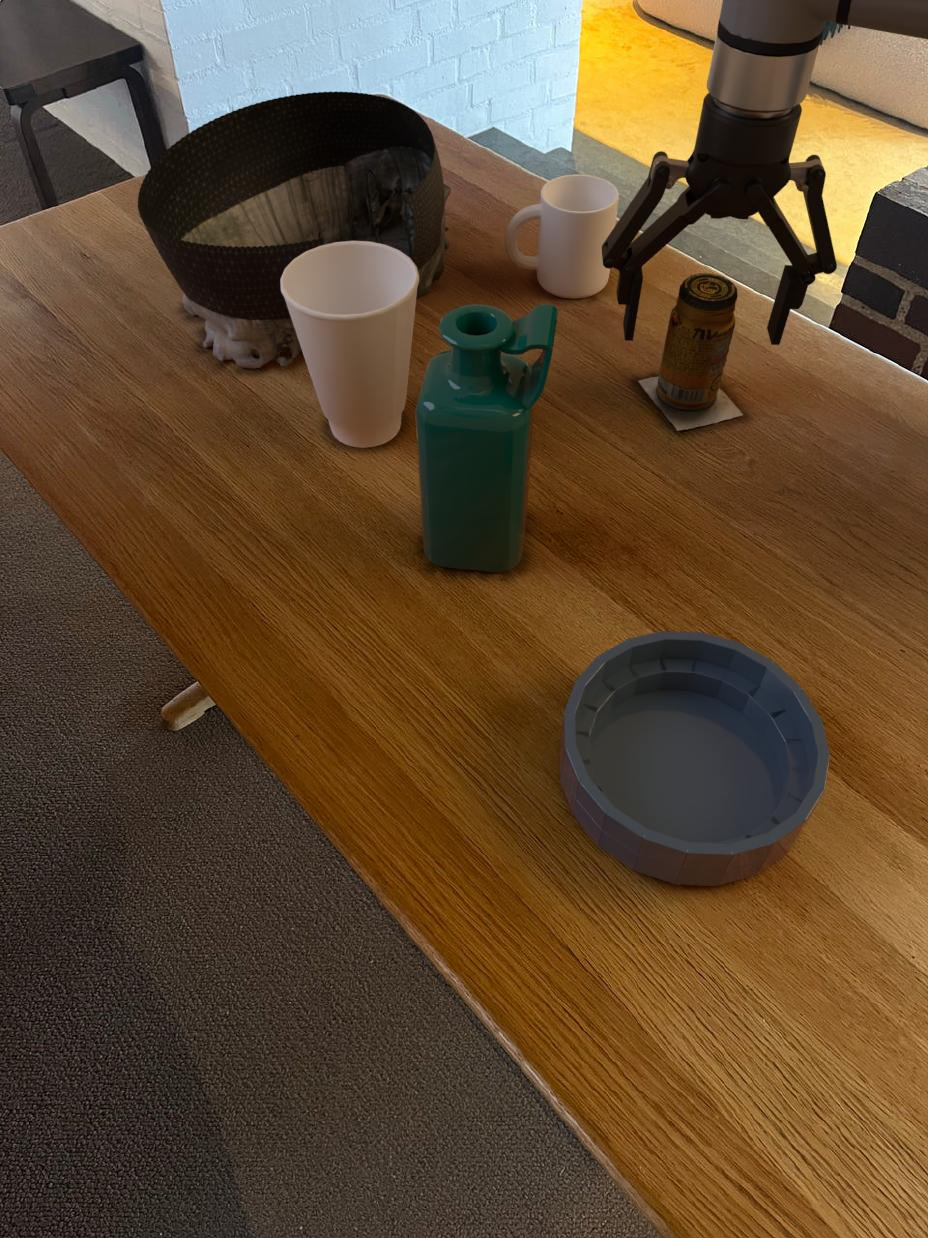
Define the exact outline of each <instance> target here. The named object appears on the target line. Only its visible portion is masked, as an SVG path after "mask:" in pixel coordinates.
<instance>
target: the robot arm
mask: <svg viewBox="0 0 928 1238" xmlns="http://www.w3.org/2000/svg"><path fill="white" fill-rule="evenodd" d="M827 22H828V23H834V24H838V25H842V26H843V25H844V26H850V27H851V26H852V27H854V28H855V27H856V28H860V29H861V28H862V29H867V30H872V31H878V32H885V33H890V34H895V35H901V36H906V37H912V38H916V39H923V40H928V0H722V2H721V9H720V15H719V19H718V24H717V31H716V35H715V40H714V46H713V50H712V55H711V61H710V65H709V70H708V74H707V79H706V90H707V91H708V93H706V94H705V96H704V98H703V100H702V108H701V112H700V116H699V123H698V127H697V133H696V138H695V143H694V148H693V150H692V153H691V154H690V156H689V157H688V159H687V160H683V159H676V158H669V156H668V154H667V152H665V151H663V150H659V151H657V152H656V153H655V154H654V155H653V156H652V159H651V164H650V167H649V170H648V171H649V172H648V175H647V178H646V179H645V181H644V182H643V183H642V185H641V186H640V188H639V189H638V191H637V193H636V194H635V196H634V197H633V199H632V200H631V202H630V203H629V205H628V206H627V207H626V209H625V210H624V212H623V214H622V215H621V216H620V217H619V219H618V221H617V222H616V224H615V227H614V228H613V230H612V231H611V233H610V234H609V236H608V237H607V239H606V240H605V242H604V243H603V245H602V260H603V265H604V267H605V268H608V269H610V270H611V269H616V270H617V271H618V277H617V282H616V283H617V286H616V290H615V291H616V300H617V303H618V305H619V306H625V307H624V316H623V320H622V321H623V322H622V326H623V335H624V342H625V341H627V342H629V341H630V342H633V341H634V335H635V330H636V324H637V319H638V312H639V306H640V299H641V294H642V287H643V281H644V274H643V273H644V272H643V267H644V266H645V265H646V264H647V263H648V262H649V261H650V260H651V259H652V258H653V257H655V256H656V255H657V254H658V253H659V252H660V251H662V249H664V248H665V247H666V246H667V245H668V244H669V243H670V242H672V240H674V239H675V238H676V237H677V236H678V235H679V234H681V232H683V231H684V230H685V229H686V228H687V227H688V226H692V225H694V224H696V223H697V222H698V221H699V220H700V219H702V217H704V216H705V215H708V216H710V219H715V220H717V219H718V220H721V219H725V218H733V219H737V220H749V217H752V216H754V215H756V214H757V213H758V214H759V216H760V218H761V219H762V221H763V222H764V224H765V225H766V227H768V229H769V231H770V232H771V234H772V235H773V237H774V238H775V240H776V241H777V243H778V245H779V246H780V248H781V250H782V251H783V253H784V255H785V256H786V258H787V259H788V261H789V262H790V264H785V265H784V266H783V269H782V274H781V277H780V281H779V285H778V288H777V292H776V294H775V299H774V301H773V304H772V308H771V312H770V315H769V319H768V322H767V326H766V330H767V334H768V337H769V342H770V345H771V346H780V344H781V342H782V338H783V334H784V332H785V329H786V325H787V322H788V319H789V315H790V311H791V310H799V309H800V308H801V307H802V306H803V303H804V301H805V297H806V293H807V291H808V288H809V286H810V285H812V284H813V283H815V281H816V275H819V274H825V275H831V274H833V273H835V271H837V268H838V264H837V259H836V254H835V251H834V250H835V249H834V245H833V241H832V236H831V231H830V226H829V221H828V217H827V212H826V207H825V202H824V198H823V193H824V187H825V182H826V178H827V177H826V176H827V171H826V170H825V168H824V165H823V162H822V160H821V157H820V156H819V155H818V154H811V155H809V156H807V158H806V159H805V161H796V162H790V156H791V153H792V150H793V146H794V142H795V139H796V135H797V131H798V127H799V124H800V120H801V116H802V112H803V108H802V105H801V104H802V103H803V102H804V100H805V99H806V98H807V96H808V95H807V94H808V90H809V87H810V83H811V79H812V75H813V71H814V68H815V63H816V59H817V55H818V52H819V47H820V44H821V41H822V38H823V37H822V36H823V33H824V28H825V26H826V23H827ZM681 179H685V181H686V183H687V185H688V187H687V188H685V189H684V191H682V192H681V193H680V194H679V196H678V198H677V200H676V201H675V202H674V203H673V204H672V205H671V206H670V207H669V208H668V209H666V210H665V211H664V212H663V213H662V214H661V215H660V216H659V217H657V219H656V220H655V221H654V222H652V223H651V224H650V225H649V226H648V227H647V228H646V229H644V231H642V233H640V231H641V230H642V229H643V227H644V225H645V223H646V222H647V221H648V219H649V218H650V216H651V215H652V214H653V212H654V211H655V209H656V208H657V207H658V205H659V204H660V202H661V200H662V199H663V197H664V195H665V192H666V190H671V189H672V188H673V187H674V186H675V184H676V183H677V181H679V180H681ZM790 181H793V182H794V184H795V187H796V190H797V191H798V192H800V193H801V192H802V194H803V198H804V199H803V200H804V203H805V207H806V212H807V216H808V220H809V225H810V230H811V233H812V238H813V243H814V247H815V251H816V252H813V253H810V254H808V252H807V251H806V249H805V248H804V246H803V244H802V242H801V240H800V239H799V237H798V236H797V234H796V232H795V231H794V230H793V229H794V228H793V227H792V226H791V225H790V223H789V221H788V219H787V218H786V216H785V215H784V212H783V211H782V209H781V207H780V206H779V204H778V202H777V201H776V198H775V197H776V196H777V194H779V193H780V192H781V191H782V190H783V189H784V188H785V187H786V186H787V185H788V184H789V182H790ZM639 233H640V234H639ZM638 234H639V235H638ZM637 235H638V237H637Z"/></svg>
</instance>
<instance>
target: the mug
mask: <svg viewBox="0 0 928 1238" xmlns="http://www.w3.org/2000/svg"><path fill="white" fill-rule="evenodd" d="M619 197H620V194H619V191H618V188H617V187H616V186H615V185H614V184H613V183H611V182H610V181H608V180H607V179H604V178H602V177H599V176H595V175H591V174H590V175H589V174H578V173H577V174H576V173H575V174H566V175H561V176H558V177H555V178H552V179H550V180H548V181H547V182H545V184H544V185H543V186H542V187H541V190H540V200H539V201H540V203H535V204H531V205H528V206H525V207H523V208H521V209H520V210H519V211H518V212H516V213H515V214H514V215H513V216H512V217H511V218H510V221H509V222H508V223H507V227H506V230H505V234H504V247H505V251H506V254H507V256H508V258H509V259H510V261H511V262H512V263H513V264H514V265H516V266H517V267H519V268H522V269H524V270H530V271H536V278H537V282H538V283H539V285H540V287H541V288H542V289H543V290H544V291H546V292H547V293H549V294H551V295H553V296H555V297H558V298H562V299H569V300H570V299H571V300H577V299H579V300H580V299H584V298H589V297H592V296H594V295H597V294H598V293H600V292H601V291H603V289H604V288H606V286H607V284H608V281H609V278H610V274H611V273H610V272H611V268H610V269H608V268H605V267H604V265H603V260H602V245H603V243H604V242H605V240H606V239H607V237H608V236H609V234H610V233H611V231H612V230H613V228H614V227H615V226H616V224H617V216H618V215H617V213H618V207H619ZM530 221H531V222H532V221H538V235H537V237H538V238H537V255H535V256H533V255H532V256H529V255H525V254H523V253H522V252H521V251H520V250H519V248H518V244H517V243H518V241H517V239H518V234H519V232H520V230H521V228H522V227H523V226H524V225H525V224H527V223H528V222H530Z"/></svg>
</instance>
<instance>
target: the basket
mask: <svg viewBox="0 0 928 1238" xmlns="http://www.w3.org/2000/svg"><path fill="white" fill-rule="evenodd" d="M440 159H441V158H440V156H439V151H438V148H437V145H436V142H435V139H434V136H433V132H432V130H431V128H430V126H429V125H428V124H427V122H426V121H425V120H424V119H423V117H422V116H421V115H420V114H419V113H418V112H416V111H415V110H413V109H412V108H411V107H409V106H407V105H406V104H404V103H401V102H398V101H397V100H394V99H391V98H387V97H385V96H380V95H376V94H372V93H365V92H357V91H356V92H355V91H354V92H353V91H318V92H314V91H313V92H307V93H300V94H299V93H298V94H291V95H286V96H280V97H278V98H276V97H275V98H272V99H267V100H263V101H261V102H256V103H254V104H249V105H247V106H244V107H241V108H238V109H236V110H232V111H230V112H226V113H225V114H223V115H220V116H219V117H215V118H214V119H212V120H209V121H208V122H207V123H203V124H202V125H201V126H198V127H197V128H195V129H193V130H192V131H191V132H189V133H186V134H185V136H182V137H181V138H180V139H179V140H177V141H176V142H175V143H174V144H172V145H171V146H170V147H169V148H167V149H166V150H165V152H163V153H162V154H161V156H159V157H158V158H157V160H156V161H154V162H153V165H152V166H150V169H149V170H148V171H147V173H146V174H145V176H144V179H143V180H142V182H141V184H140V187H139V190H138V196H137V210H138V215H139V217H140V219H141V221H142V223H143V226H144V227H145V229H146V231H147V234H148V235H149V238H150V239H151V241H152V243H153V245H154V248H156V250H157V251H158V254H159V256H160V257H161V259H162V261H163V263H164V264H165V265H166V267H167V269H168V271H169V272H170V274H171V275H172V277H173V279H174V280H175V281H176V283H177V285H178V286H179V288H180V289H181V291H182V292H183V293H182V294H183V296H182V304H183V307H184V310H185V311H186V312H187V313H189V314H190V315H191V316H192V317H195V316H196V317H197V316H198V318H201V319H203V320H205V324H204V331H205V333H206V337H205V339H204V341H203V342H202V346H203V347H204V348H205V349H207V348H210V347H212V356H213V357H215V358H217V360H218V361H221V362H224V361H226V360H229V361H230V360H233V361H235V364H236V365H237V366H239V367H240V368H243V369H245V368H246V369H260V368H262V367H263V366H264V365H266V364H267V363H269V362H271V361H275V362H276V363H278V364H279V365H280V367H289V365H290V364H292V362H293V361H294V359H295V358H296V357H297V356H299V354H300V353H301V352H302V349H301V346H300V343H299V340H298V337H297V334H296V331H295V328H294V325H293V322H292V319H291V316H290V313H289V310H288V307H287V304H286V301H285V298H284V296H283V294H282V292H281V283H280V279H281V277H282V274H283V272H284V270H285V268H286V267H287V266H288V265H289V264H290V263H291V262H292V261H293V259H295V258H297V257H298V256H300V255H301V254H303V253H304V252H306V251H309V250H311V249H314V248H316V247H319V246H322V245H326V244H331V243H335V242H345V241H367V242H374V243H379V244H384V245H387V246H390V247H392V248H395V249H397V250H400V251H401V252H402V253H404V254H405V255H407V256H408V257H410V259H411V260H412V261H413V263H414V264H415V265H416V267H417V269H418V274H419V278H420V279H419V283H418V287H417V296H416V300H418V299H421V298H424V297H426V296H427V295H429V294H430V293H431V291H432V284H433V283H434V282H436V281H440V279H441V277H442V276H443V273H444V271H445V268H446V267H445V266H446V255H445V254H446V253H445V250H447V249H449V248H450V247H451V245H450V243H449V240H448V238H447V233H446V232H448V231H449V230H450V227H446V216H447V214H446V205H447V201H448V198H449V197H450V194H451V191H452V188H451V187H450V186H448V185H447V184H445V182H444V177H443V169H442V163H441V160H440ZM288 350H289V353H290V354H291V355H290V356H289V355H280V353H281V354H284V353H285V352H286V351H288Z"/></svg>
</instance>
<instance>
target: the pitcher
mask: <svg viewBox="0 0 928 1238" xmlns="http://www.w3.org/2000/svg"><path fill="white" fill-rule="evenodd" d="M558 315H559V313H558V308H557V307H556V306H554V305H553V304H549V303H547V304H546V303H545V304H544V303H543V304H540V305H537V306H535V307H534V308H532V309H531V310H530V311H529V312H528V313H527V314H526V315H525V316H523V317H521V318H519V319H515V320H512V318H511V316H510V314H508V313H506V312H505V311H503V310H502V309H501V308H498V307H495V306H492V305H489V304H478V303H471V304H466V305H460V306H458V307H456V308H453V309H451V310H449V311H448V312H446V314H444V315H443V317H441V319H440V321H439V324H438V328H437V330H438V332H439V335H440V337H441V339H442V340H443V341H444V342H445V343H447V344H448V345H449V346H450V349H448V350H444V351H440V353H437V354H435V355H434V356H433V357H432V358H431V359H430V360H429V361H428V363H427V365H426V369H425V373H424V377H423V381H422V384H421V387H420V392H419V395H418V399H417V401H416V402H417V403H416V406H415V410H414V411H415V412H414V414H415V415H414V416H415V430H416V431H415V432H416V433H415V434H416V449H417V465H418V467H417V468H418V483H419V498H420V516H421V532H422V534H421V535H422V548H423V552H424V556H425V557H426V559H428V561H429V562H430V563H431V564H433V565H435V566H437V567H440V568H447V569H459V570H468V571H479V572H488V573H497V574H499V573H503V572H509V571H510V570H512V569H513V568H515V567H516V566H518V564H519V562H520V561H521V560H522V555H523V551H524V550H523V549H524V542H525V534H526V527H527V523H528V522H527V521H528V510H529V494H530V477H531V459H532V444H533V427H534V412H535V411H534V410H535V404H536V403H537V401H538V400H539V399H540V397H542V394H543V392H544V390H545V387H546V382H547V378H548V374H549V370H550V366H551V361H552V356H553V351H554V343H555V338H556V337H555V335H556V329H557V323H558ZM531 350H541V353H540V354H539V357H537V359H536V360H535V362H533V363H532V364H530V363H529V362H528V361H526V359H524V358H523V357H521V356H520V355H524V354H525V353H527V352H528V351H531Z"/></svg>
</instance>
